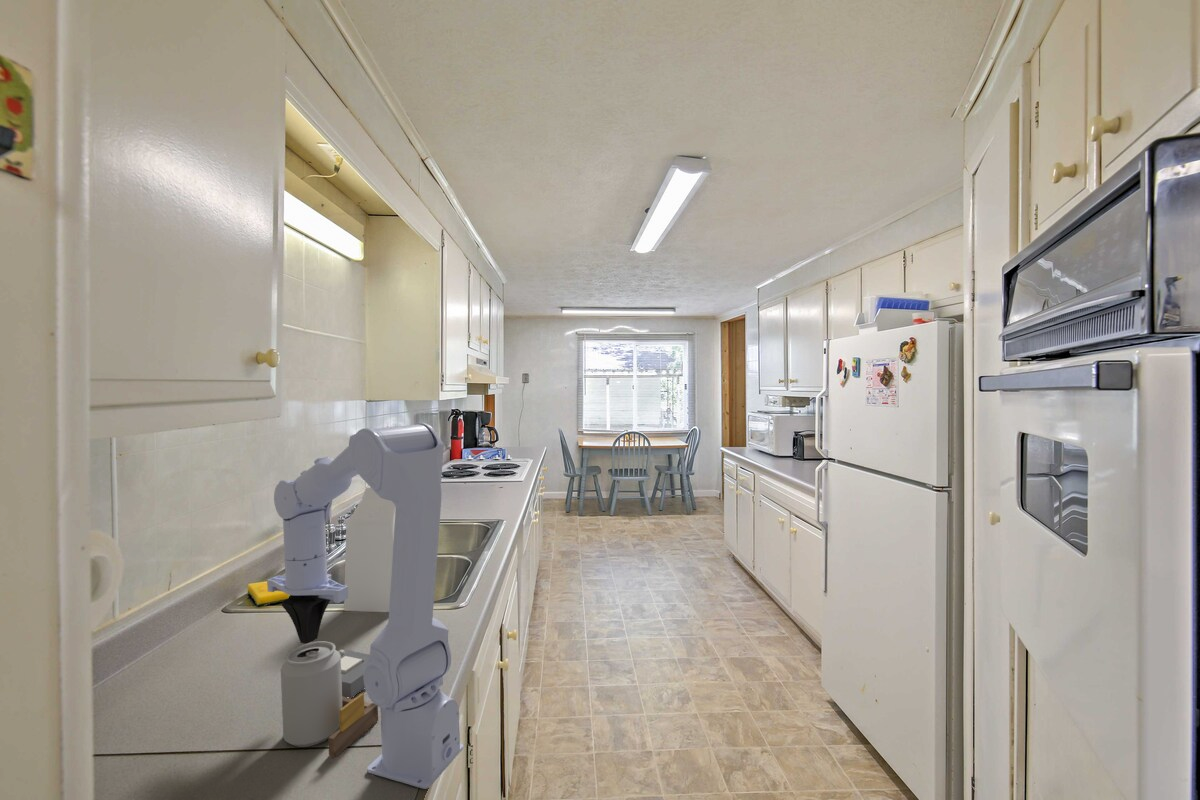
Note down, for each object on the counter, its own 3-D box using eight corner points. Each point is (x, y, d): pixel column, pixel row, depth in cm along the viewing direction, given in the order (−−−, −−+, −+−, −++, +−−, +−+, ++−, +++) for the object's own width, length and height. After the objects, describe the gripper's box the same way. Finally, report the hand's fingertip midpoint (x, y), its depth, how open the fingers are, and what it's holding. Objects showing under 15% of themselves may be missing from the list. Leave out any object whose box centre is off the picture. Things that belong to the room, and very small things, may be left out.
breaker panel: (387, 672, 92) (386, 654, 92) (351, 699, 85) (350, 679, 84) (341, 662, 96) (340, 645, 95) (303, 687, 88) (302, 668, 88)
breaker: (362, 672, 91) (362, 659, 91) (345, 683, 88) (345, 670, 88) (345, 668, 92) (345, 655, 92) (328, 679, 89) (328, 666, 89)
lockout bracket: (378, 720, 79) (377, 684, 79) (334, 757, 72) (333, 717, 71) (325, 707, 82) (324, 672, 82) (278, 741, 75) (277, 702, 75)
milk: (419, 591, 127) (416, 481, 126) (396, 612, 116) (393, 492, 115) (371, 589, 128) (368, 481, 127) (343, 610, 117) (339, 492, 116)
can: (329, 709, 82) (326, 632, 81) (352, 730, 77) (349, 648, 77) (275, 735, 76) (271, 652, 76) (296, 759, 71) (292, 670, 71)
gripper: (362, 551, 85) (365, 635, 86) (293, 542, 90) (296, 622, 91) (325, 566, 78) (329, 657, 79) (253, 556, 83) (257, 642, 84)
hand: (309, 640), depth 84 cm, fingers closed
